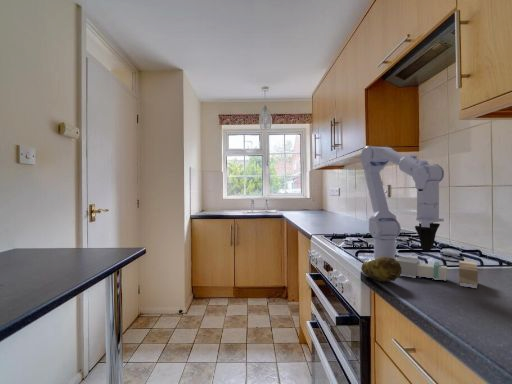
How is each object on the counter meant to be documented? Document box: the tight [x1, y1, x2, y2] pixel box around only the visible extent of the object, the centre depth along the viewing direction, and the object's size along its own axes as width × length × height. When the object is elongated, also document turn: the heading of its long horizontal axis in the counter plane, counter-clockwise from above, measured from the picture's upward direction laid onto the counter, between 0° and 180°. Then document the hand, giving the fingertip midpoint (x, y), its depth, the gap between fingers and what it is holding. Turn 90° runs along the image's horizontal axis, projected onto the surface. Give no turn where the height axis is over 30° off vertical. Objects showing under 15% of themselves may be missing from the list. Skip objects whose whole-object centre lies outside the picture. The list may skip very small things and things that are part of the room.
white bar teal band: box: [417, 261, 448, 280], centre depth 85 cm, size 5×12×4 cm, turn 53°
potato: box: [360, 257, 402, 282], centre depth 81 cm, size 8×13×8 cm, turn 178°
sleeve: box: [396, 255, 420, 276], centre depth 87 cm, size 6×6×5 cm
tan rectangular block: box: [458, 260, 479, 285], centre depth 78 cm, size 7×4×6 cm, turn 143°
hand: (427, 248), depth 84 cm, fingers open, 7 cm apart
